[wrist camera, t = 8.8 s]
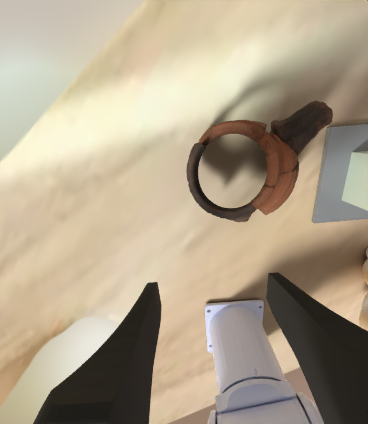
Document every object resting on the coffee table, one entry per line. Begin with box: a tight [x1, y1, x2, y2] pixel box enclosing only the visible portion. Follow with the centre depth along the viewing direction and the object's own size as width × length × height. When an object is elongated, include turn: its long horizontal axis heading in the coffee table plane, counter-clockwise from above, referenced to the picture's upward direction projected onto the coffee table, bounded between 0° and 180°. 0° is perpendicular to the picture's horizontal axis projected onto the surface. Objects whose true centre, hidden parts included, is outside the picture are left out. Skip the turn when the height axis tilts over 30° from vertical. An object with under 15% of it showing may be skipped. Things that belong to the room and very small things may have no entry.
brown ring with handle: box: [187, 101, 333, 222], centre depth 17 cm, size 12×10×8 cm
